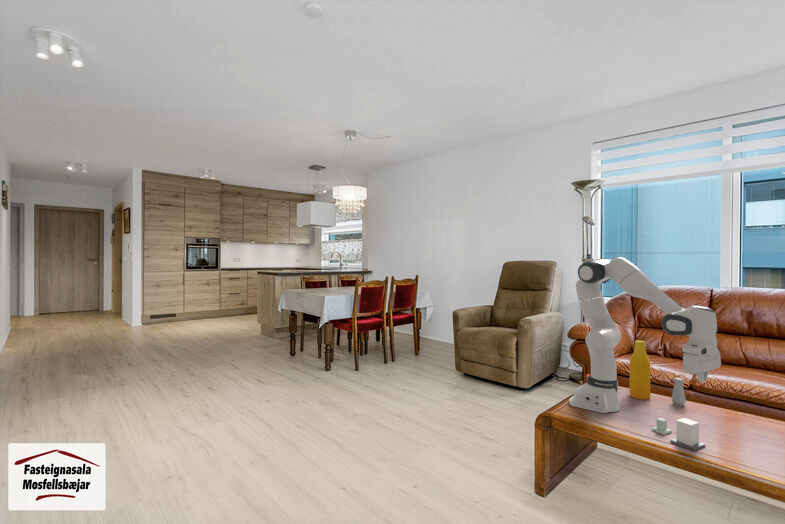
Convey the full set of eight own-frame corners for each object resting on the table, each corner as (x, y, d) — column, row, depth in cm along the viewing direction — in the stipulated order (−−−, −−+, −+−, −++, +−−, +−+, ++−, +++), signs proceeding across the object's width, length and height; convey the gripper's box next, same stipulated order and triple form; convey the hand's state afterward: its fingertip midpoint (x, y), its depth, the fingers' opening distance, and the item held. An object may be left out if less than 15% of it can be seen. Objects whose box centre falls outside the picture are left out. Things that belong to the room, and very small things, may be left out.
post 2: (693, 451, 150) (693, 432, 150) (670, 442, 157) (670, 424, 157) (705, 446, 153) (705, 428, 153) (682, 438, 160) (682, 420, 160)
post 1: (664, 434, 163) (664, 422, 163) (651, 430, 168) (651, 418, 168) (671, 432, 166) (671, 420, 165) (659, 427, 170) (659, 416, 170)
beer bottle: (653, 397, 206) (654, 341, 205) (644, 401, 201) (644, 343, 200) (635, 392, 213) (635, 338, 213) (625, 395, 209) (626, 340, 208)
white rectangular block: (691, 446, 152) (691, 425, 152) (676, 440, 156) (676, 420, 156) (698, 443, 154) (698, 422, 154) (684, 437, 159) (684, 417, 158)
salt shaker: (688, 407, 192) (688, 380, 192) (674, 406, 193) (675, 379, 193) (682, 403, 198) (682, 377, 198) (669, 402, 199) (669, 376, 199)
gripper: (707, 342, 167) (707, 375, 167) (679, 348, 158) (679, 382, 158) (725, 345, 161) (725, 379, 161) (697, 351, 152) (697, 387, 152)
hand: (702, 381), depth 160 cm, fingers closed
